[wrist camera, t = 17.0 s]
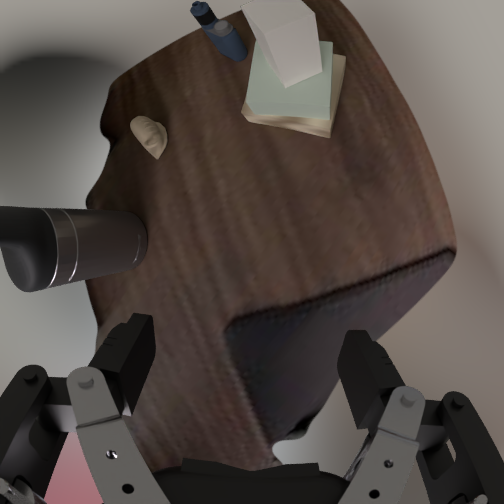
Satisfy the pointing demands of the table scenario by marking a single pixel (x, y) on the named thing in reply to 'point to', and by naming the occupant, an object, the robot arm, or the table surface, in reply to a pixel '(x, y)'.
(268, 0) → the white block
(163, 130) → the decorative ornament
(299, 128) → the base block
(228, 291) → the table surface
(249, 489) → the robot arm
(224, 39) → the vaping device
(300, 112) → the top block
